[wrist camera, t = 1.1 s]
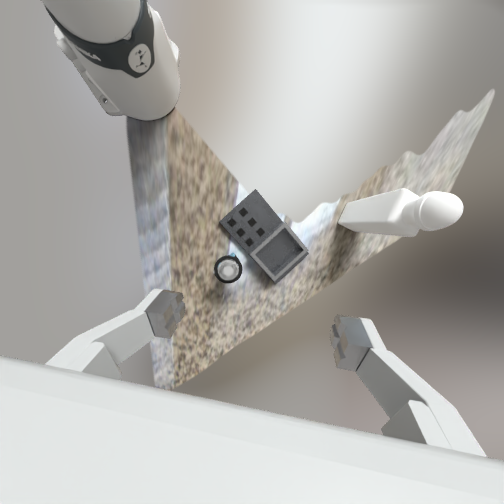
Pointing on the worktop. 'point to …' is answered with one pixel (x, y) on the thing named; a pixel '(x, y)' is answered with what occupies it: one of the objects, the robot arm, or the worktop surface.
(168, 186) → the worktop surface
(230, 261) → the push button
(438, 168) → the worktop surface
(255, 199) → the organizer
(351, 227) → the white bottle
